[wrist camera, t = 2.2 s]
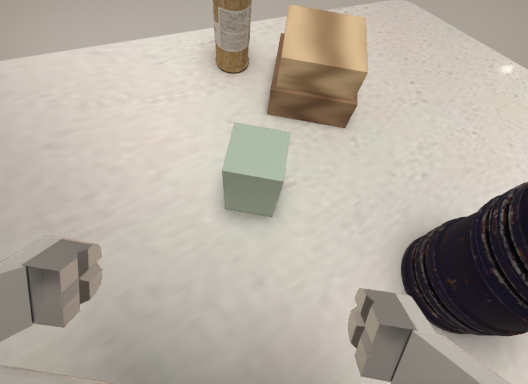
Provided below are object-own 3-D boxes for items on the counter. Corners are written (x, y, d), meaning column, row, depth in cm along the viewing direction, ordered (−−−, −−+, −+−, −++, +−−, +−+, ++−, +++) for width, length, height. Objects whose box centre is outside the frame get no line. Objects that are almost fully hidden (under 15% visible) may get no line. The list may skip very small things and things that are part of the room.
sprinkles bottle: (220, 48, 41) (214, -71, 29) (251, 54, 41) (259, -62, 29) (212, 70, 39) (202, -48, 27) (245, 77, 39) (250, -38, 27)
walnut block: (266, 116, 37) (270, 89, 33) (276, 62, 41) (281, 33, 37) (343, 129, 37) (357, 104, 33) (345, 74, 41) (357, 47, 37)
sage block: (225, 208, 30) (222, 170, 23) (234, 168, 32) (234, 122, 25) (271, 217, 30) (283, 181, 23) (277, 176, 32) (290, 132, 25)
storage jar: (381, 251, 30) (502, 185, 16) (454, 221, 32) (612, 142, 19) (438, 354, 26) (657, 377, 13) (516, 311, 28) (770, 292, 15)
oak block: (276, 87, 33) (281, 57, 29) (284, 36, 37) (289, 4, 33) (353, 100, 33) (367, 72, 29) (353, 48, 37) (365, 18, 33)
